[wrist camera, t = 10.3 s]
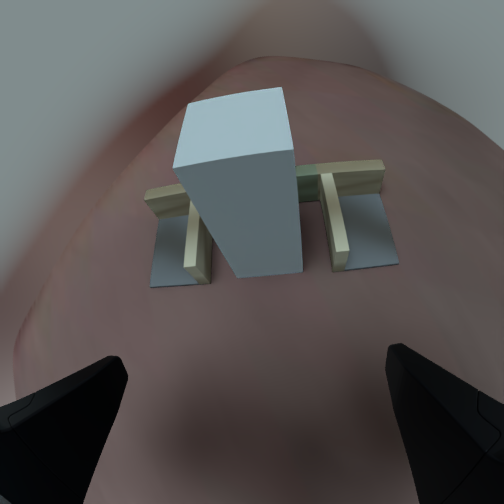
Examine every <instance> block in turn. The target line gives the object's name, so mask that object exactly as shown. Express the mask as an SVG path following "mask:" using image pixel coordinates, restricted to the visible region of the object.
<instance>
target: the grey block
mask: <svg viewBox="0 0 504 504" xmlns="http://www.w3.org/2000/svg"><path fill="white" fill-rule="evenodd" d="M173 170H174V172H175V174H176V175H177V177H178V179H179V181H180V182H181V184H182V186H183V188H184V189H185V191H186V193H187V194H188V196H189V198H190V200H191V201H192V203H193V205H194V206H195V208H196V210H197V212H198V213H199V215H200V217H201V218H202V220H203V222H204V224H205V225H206V227H207V229H208V230H209V232H210V234H211V235H212V237H213V239H214V240H215V242H216V244H217V245H218V247H219V249H220V250H221V252H222V254H223V255H224V257H225V259H226V260H227V262H228V264H229V265H230V267H231V269H232V270H233V272H234V274H235V275H236V277H237V278H246V277H258V276H269V275H280V274H291V273H301V272H303V261H302V244H301V228H300V215H299V202H298V190H297V179H296V168H295V158H294V149H293V143H292V137H291V132H290V127H289V121H288V116H287V111H286V106H285V101H284V96H283V91H282V87H279V88H270V89H263V90H256V91H249V92H243V93H237V94H232V95H226V96H221V97H216V98H211V99H207V100H202V101H198V102H194V103H189V104H188V107H187V110H186V114H185V118H184V122H183V126H182V130H181V134H180V138H179V142H178V146H177V150H176V155H175V159H174V164H173Z"/></svg>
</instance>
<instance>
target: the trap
mask: <svg viewBox="0 0 504 504" xmlns="http://www.w3.org/2000/svg"><path fill="white" fill-rule="evenodd" d="M295 168H296V179H297V190H298V202H305V201H315V200H320V201H321V206H322V212H323V217H324V223H325V228H326V234H327V240H328V246H329V252H330V258H331V265H332V272H338V271H347V270H356V269H364V268H373V267H381V266H389V265H397V264H399V260H398V256H397V252H396V249H395V245H394V241H393V237H392V234H391V230H390V227H389V223H388V220H387V217H386V213H385V210H384V207H383V204H382V201H381V198H380V195H379V192H380V188H381V185H382V181H383V177H384V173H385V167H384V165H383V162H382V160H363V161H347V162H333V163H322V164H311V165H301V166H295ZM144 201H145V202H146V203H147V205H148V206H149V207H150V208H151V210H152V211H153V212H154V214H155V215H156V216H157V217H158V219H159V224H158V230H157V236H156V243H155V249H154V256H153V264H152V271H151V279H150V288H156V287H171V286H185V285H199V284H211V259H212V238H213V237H212V235H211V234H210V232H209V230H208V229H207V227H206V225H205V224H204V222H203V220H202V218H201V217H200V215H199V213H198V212H197V210H196V208H195V206H194V205H193V203H192V201H191V200H190V198H189V196H188V194H187V193H186V191H185V189H184V188H183V186H182V184H181V183H179V184H174V185H169V186H164V187H159V188H154V189H150V190H146V194H145V198H144Z"/></svg>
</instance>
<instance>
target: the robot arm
mask: <svg viewBox="0 0 504 504" xmlns="http://www.w3.org/2000/svg"><path fill="white" fill-rule="evenodd" d="M385 370H386V376H387V380H388V385H389V390H390V395H391V400H392V405H393V409H394V413H395V417H396V420H397V423H398V426H399V430H400V433H401V436H402V439H403V443H404V446H405V449H406V453H407V456H408V460H409V464H410V467H411V471H412V475H413V479H414V483H415V487H416V491H417V495H418V499H419V504H504V404H502V403H500V402H498V401H497V400H495V399H493V398H491V397H490V396H488V395H486V394H484V393H483V392H481V391H478V389H476V388H474V387H473V386H471V385H470V384H468V383H466V382H465V381H463V380H461V379H460V378H458V377H456V376H455V375H453V374H451V373H450V372H448V371H447V370H445V369H443V368H442V367H440V366H438V365H437V364H435V363H433V362H432V361H430V360H428V359H427V358H425V357H424V356H422V355H420V354H419V353H417V352H415V351H414V350H412V349H410V348H409V347H407V346H406V345H404V344H402V343H398V344H392V345H390V346H389V347H388V351H387V358H386V365H385ZM127 381H128V374H127V371H126V369H125V367H124V365H123V362H122V360H121V358H120V357H118V356H107V357H105V358H103V359H101V360H99V361H97V362H95V363H93V364H91V365H89V366H87V367H85V368H83V369H81V370H79V371H77V372H75V373H73V374H71V375H69V376H67V377H65V378H63V379H61V380H59V381H57V382H55V383H53V384H51V385H49V386H47V387H45V388H43V389H41V390H39V391H37V392H36V393H35V392H34V393H32V394H30V395H28V396H26V397H24V398H21V399H19V400H17V401H15V402H12V403H10V404H7V405H4V406H2V407H0V504H83V502H84V499H85V496H86V493H87V490H88V487H89V485H90V482H91V479H92V476H93V474H94V471H95V468H96V466H97V463H98V460H99V458H100V455H101V453H102V450H103V448H104V445H105V443H106V440H107V438H108V435H109V433H110V430H111V428H112V425H113V423H114V420H115V418H116V416H117V413H118V410H119V407H120V404H121V400H122V397H123V394H124V391H125V387H126V384H127Z"/></svg>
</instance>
